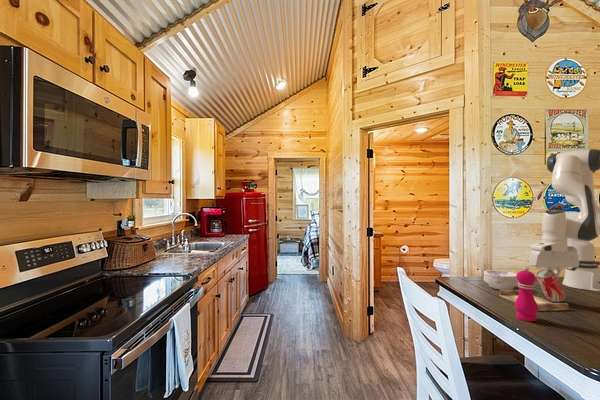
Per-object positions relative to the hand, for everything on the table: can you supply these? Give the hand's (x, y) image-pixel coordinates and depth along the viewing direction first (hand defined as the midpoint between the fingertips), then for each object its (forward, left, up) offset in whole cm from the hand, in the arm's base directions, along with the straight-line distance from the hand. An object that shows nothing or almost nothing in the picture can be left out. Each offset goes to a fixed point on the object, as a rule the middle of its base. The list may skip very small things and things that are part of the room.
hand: (554, 277), depth 135 cm
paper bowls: (+9, -22, -11) cm, 26 cm away
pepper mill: (+28, +18, -11) cm, 35 cm away
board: (+11, 0, -11) cm, 15 cm away
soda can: (-1, 0, -10) cm, 10 cm away
